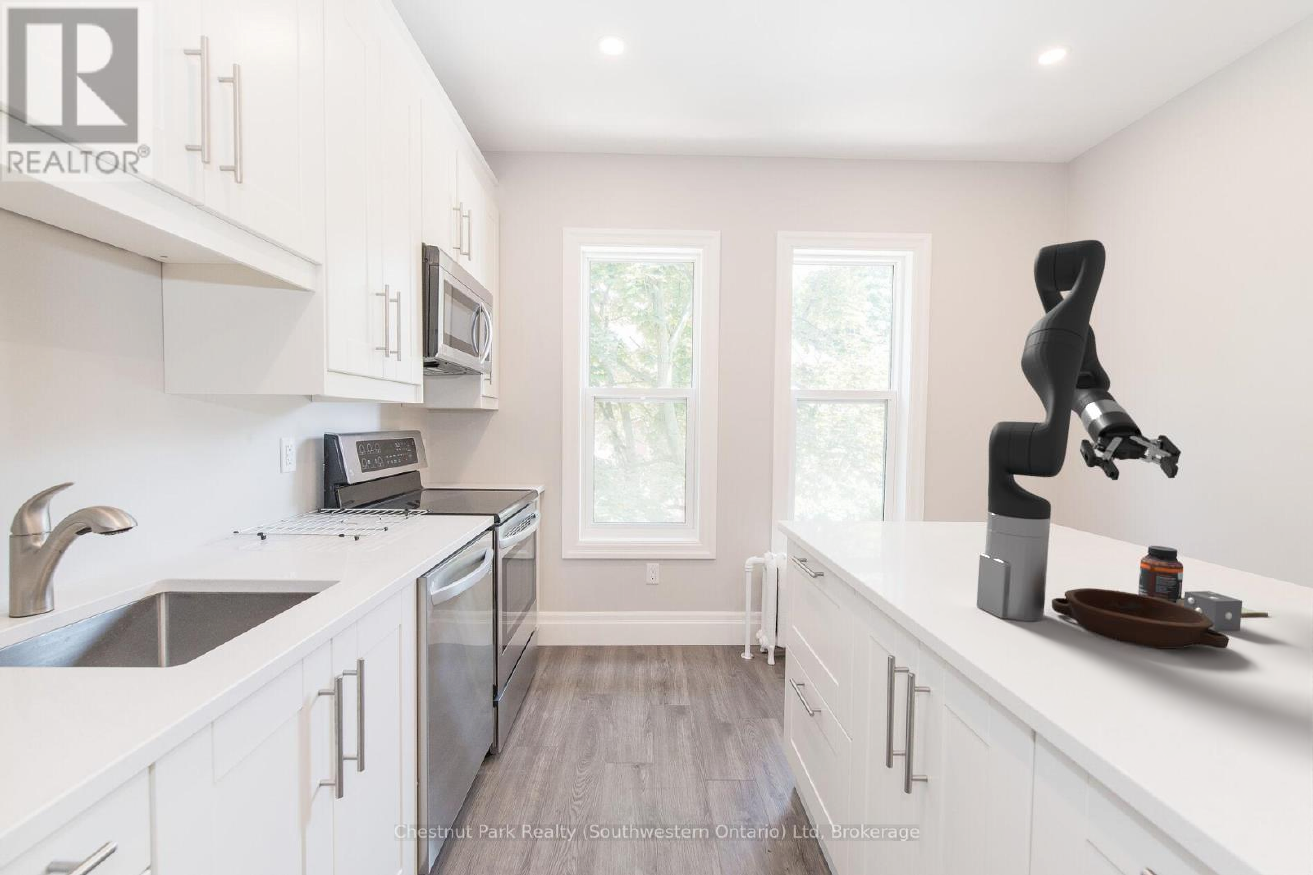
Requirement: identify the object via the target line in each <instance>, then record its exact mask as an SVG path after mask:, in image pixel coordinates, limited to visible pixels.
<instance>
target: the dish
mask: <svg viewBox="0 0 1313 875" xmlns="http://www.w3.org/2000/svg"><path fill="white" fill-rule="evenodd" d="M1063 595H1064V597H1055V598H1053V599H1052V600H1051V608H1052V610H1053V611H1054V612H1056V613H1058V614H1060V615H1064V616H1066V617H1068V618H1070V619H1073V620H1074V621H1076V623H1078V624H1079V626H1081V627H1082V628H1084V629H1085V630H1086V631H1090V632H1092V633H1094V634H1096V635H1098V636H1102V637H1104V638H1105V637H1106V638H1107V639H1110V640H1114V641H1118V642H1123V643H1127V644H1131V645H1135V646H1139V647H1140V646H1141V647H1148V648H1158V649H1179V648H1187V647H1191V646H1206V647H1212V648H1218V649H1226V648H1227V647H1228V645H1229V641H1230V638H1229V637H1228V636H1227V635H1226V634H1224V633H1221V632H1220V631H1213V630H1211V629H1209V628H1210V627H1212V626H1213V625H1214V623H1213V621H1212V620H1210V619H1209V618H1208V617H1206V616H1205V615H1203V614H1201V613H1200V612H1198V611H1196V610H1194V609H1191V608H1188V607H1185V606H1183V605H1180V604H1177V603H1174V602H1170V601H1167V600H1163V599H1159V598H1154V597H1149V596H1144V595H1139V594H1138V593H1134V592H1133V593H1132V592H1126V591H1120V590H1113V589H1103V588H1093V587H1092V588H1089V587H1087V588H1085V587H1084V588H1075V589H1069V590H1066V591H1065V592H1064V594H1063Z"/></svg>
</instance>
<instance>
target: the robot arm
mask: <svg viewBox="0 0 1313 875" xmlns="http://www.w3.org/2000/svg"><path fill="white" fill-rule="evenodd" d="M1106 253H1107V252H1106V248H1105V246H1104V244H1103V243H1102V242H1101V241H1099V240H1097V239H1085V240H1078V241H1072V242H1071V241H1070V242H1065V243H1057V244H1050V245H1047V246H1043V247H1041V248H1040V249H1039V250H1038V251H1037V253H1036V256H1035V258H1034V263H1033V278H1034V283H1035V287H1036V290H1037V293H1038V296H1039V299H1040V302H1041V304H1042V308H1043V310H1044V315H1043V317H1042V318H1040V319H1039V320H1038V321H1037V322H1036V323H1035V325H1033V326H1032V328H1030V330H1029V332H1028V334H1027V337H1026V339H1025V344H1024V348H1023V351H1022V356H1021V359H1020V360H1021V361H1020V365H1021V370H1022V373H1023V375H1024V377H1025V378H1026V380H1027V381H1028V383H1029V385H1030V387H1031V388H1032V389H1033V391H1034V392H1035V394H1037V396H1038V398H1039V400H1040V402H1041V403H1042V406H1043V408H1044V410H1045V413H1046V415H1045V420H1043V422H1039V421H1038V422H1033V421H999V422H997V423H995V425H994V426H992V429H991V431H990V435H989V439H988V440H989V441H988V482H987V483H988V487H987V500H988V501H987V518H986V520H987V521H986V522H987V523H986V533H985V534H986V535H985V551H984V553H980V555H979V560H978V562H979V564H978V577H977V578H978V580H977V581H978V582H977V593H976V594H977V596H976V607H978V608H980V609H982V610H984V611H986V612H987V613H989V614H992V615H994V616H996V617H998V618H999V619H1010V620H1016V621H1024V622H1025V621H1026V622H1037V621H1041V620H1043V619H1044V615H1045V604H1046V601H1045V600H1046V591H1047V589H1046V588H1047V572H1048V560H1049V559H1048V556H1049V547H1050V546H1049V544H1050V543H1049V542H1050V533H1051V532H1050V531H1051V530H1050V529H1051V516H1052V515H1051V514H1052V505H1051V502H1050V501H1049V500H1048V499H1046V498H1044V497H1041V496H1039V495H1037V494H1035V493H1033V492H1030V491H1028V490H1026V489H1025V488H1024V487H1022V486H1020V485H1019V483H1017V482H1016V480H1015V477H1014V475H1015V476H1026V477H1036V478H1054V477H1056V476H1057V475H1059V474H1060V472H1061V471H1062V468H1063V466H1064V463H1065V459H1066V454H1067V449H1068V441H1069V440H1068V439H1069V431H1070V425H1071V424H1070V423H1071V417H1072V416H1071V415H1072V411H1073V412H1074V413H1075V414H1077V415H1078V418H1079V419H1080V420H1081V422H1082V424H1083V428H1084V429H1085V431H1086V433H1087V434H1088V436H1089V437H1090V438H1091V440H1092V442H1090V440H1089V439H1081V443H1080V448H1079V452H1080V454H1081V456H1082V457H1083V461H1084V463H1085V464H1086V466H1087V467H1089V468H1095V467H1098V468H1100V469H1102V471H1103V473H1104V474H1105V476H1106V478H1107V477H1108V479H1109V478H1110V479H1111V481H1118V480H1119V476H1120V471H1119V470H1120V469H1118V467H1117V466H1116V464H1115V462H1114V461H1115V460H1116V459H1117V460H1119V461H1125V460H1140V461H1143V462H1144V463H1145V462H1146V463H1148V464H1149V463H1153V464H1156V465H1158V466H1159V467H1160V469H1161V470H1162V472H1163V473H1164V474H1165V475H1166V477H1167V479H1175V478H1176V476H1177V475H1178V472H1179V466H1178V465H1177V464H1178V463H1179V459H1180V457H1181V454H1182V451H1181V450H1180V449H1179V448H1178V447H1177V446H1176V445H1175V444H1174V443H1173V442H1172V440H1171V439H1169V438H1168V437H1167V436H1166V435H1164V434H1160V435H1158V437H1157V438H1153V439H1150V438H1148V437H1145V436H1144V435H1143V433H1142V432H1141V431H1142V430H1141V429H1140V427H1139V426H1138V425H1137V423H1136V422H1135V421H1134V419H1133V418H1132V417H1131V416H1130V414H1129V413H1128V412H1127V410H1126V409H1125V408H1124V407H1122V406H1121V404H1119V403H1118V402H1117V400H1116V399H1115V398H1114V396H1113V395H1112V394H1111V393H1110V392H1109V390H1110V387H1111V380H1110V377H1109V375H1108V374H1107V371H1106V370H1105V369H1104V367H1103V365H1102V364H1101V362H1100V360H1099V357H1098V353H1097V344H1096V343H1097V342H1096V334H1095V331H1094V329H1093V328H1092V326H1091V325H1090V321H1091V317H1092V316H1091V315H1092V312H1093V307H1094V304H1095V302H1096V298H1097V295H1098V292H1099V288H1100V285H1101V282H1102V279H1103V275H1104V271H1105V266H1106V258H1107V256H1106ZM1061 292H1069V293H1068V294H1067V295H1066V296H1065V298H1064V297H1063V295H1062V293H1061ZM1095 450H1097V451H1098V452H1099V453H1102V455H1101V456H1097V454H1096V451H1095ZM1146 452H1148V453H1147V454H1146ZM1157 456H1159V457H1160V458H1159V457H1157Z"/></svg>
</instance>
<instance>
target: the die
mask: <svg viewBox="0 0 1313 875" xmlns="http://www.w3.org/2000/svg"><path fill="white" fill-rule="evenodd" d="M1183 598H1184V606H1185V607H1188V608H1191V609H1194V610H1196V611H1198V612H1200V613H1201V614H1203V615H1205V616H1206V617H1208V618H1209V619H1210V620H1212V621H1213V623H1214V625H1213V626H1212V627H1210V628H1209V629H1211V630H1213V631H1216V632H1232V631H1233V632H1237V631H1241V622H1242V620H1241V619H1242V617H1241V611H1242V607H1243V600H1240V599H1238V598H1234V597H1231V596H1227V595H1225V594H1220V593H1218V592H1217V593H1216V592H1213V591H1210V590H1207V591H1204V590H1203V591H1202V590H1201V591H1198V590H1197V591H1191V590H1190V591H1184V597H1183Z"/></svg>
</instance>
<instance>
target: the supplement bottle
mask: <svg viewBox="0 0 1313 875" xmlns="http://www.w3.org/2000/svg"><path fill="white" fill-rule="evenodd" d="M1147 553H1148V554H1147V555H1145V556H1143V557H1142V558H1141V559H1140V564H1139V578H1138V589H1137V590H1138V592H1137V594H1139V595H1144V596H1149V597H1154V598H1159V599H1163V600H1167V601H1170V602H1174V603H1177V604H1180V605H1181V598H1182V593H1183V592H1182V591H1183V589H1182V588H1183V580H1184V579H1183V578H1184V577H1183V576H1184V565H1183V563H1182V562H1181V561H1179V560H1178V549H1176V548H1174V547H1167V546H1160V545H1149V546H1148V547H1147Z"/></svg>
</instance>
